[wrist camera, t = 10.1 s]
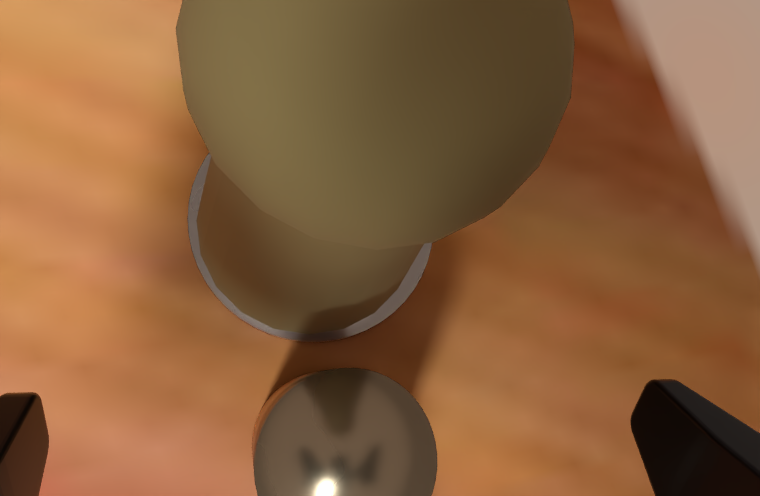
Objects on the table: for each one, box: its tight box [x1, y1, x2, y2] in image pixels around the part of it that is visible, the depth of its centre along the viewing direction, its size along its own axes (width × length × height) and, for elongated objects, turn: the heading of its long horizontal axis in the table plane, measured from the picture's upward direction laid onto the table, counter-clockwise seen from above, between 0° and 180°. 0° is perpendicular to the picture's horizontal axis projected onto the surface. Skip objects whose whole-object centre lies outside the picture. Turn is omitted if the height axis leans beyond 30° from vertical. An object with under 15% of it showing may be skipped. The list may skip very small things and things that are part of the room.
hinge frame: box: [188, 153, 437, 496], centre depth 16 cm, size 34×7×4 cm, turn 3°
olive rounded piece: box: [176, 0, 574, 334], centre depth 12 cm, size 6×6×11 cm
